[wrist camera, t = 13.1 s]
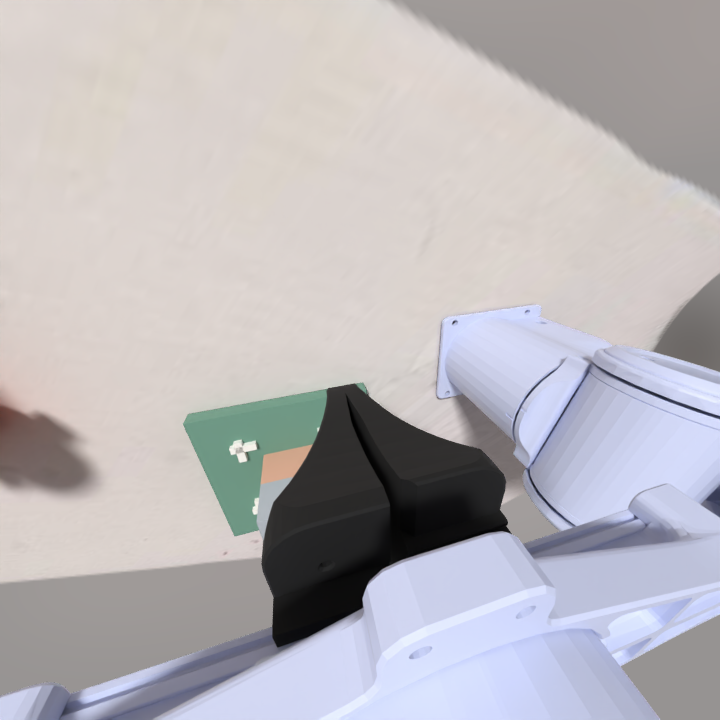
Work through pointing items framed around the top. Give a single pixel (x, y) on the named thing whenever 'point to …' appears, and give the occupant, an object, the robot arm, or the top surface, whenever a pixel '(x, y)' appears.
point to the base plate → (251, 446)
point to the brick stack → (277, 479)
